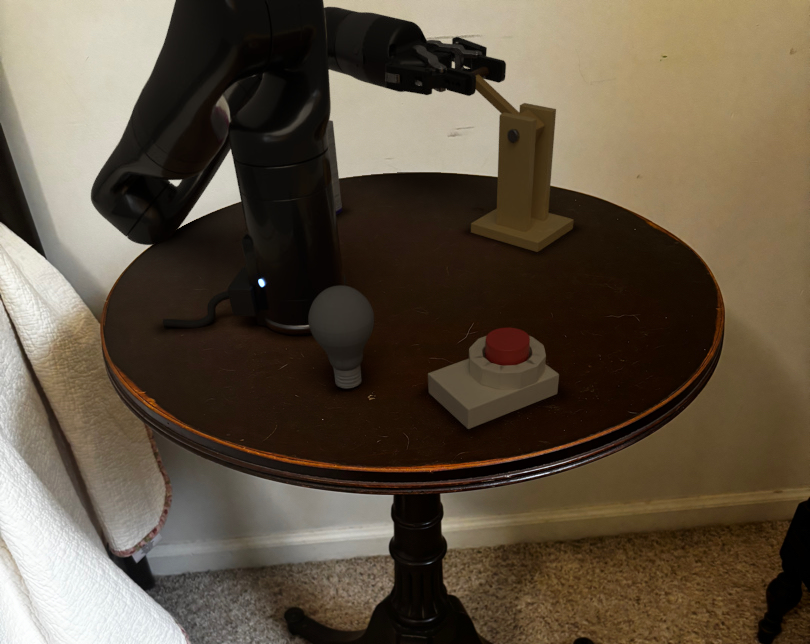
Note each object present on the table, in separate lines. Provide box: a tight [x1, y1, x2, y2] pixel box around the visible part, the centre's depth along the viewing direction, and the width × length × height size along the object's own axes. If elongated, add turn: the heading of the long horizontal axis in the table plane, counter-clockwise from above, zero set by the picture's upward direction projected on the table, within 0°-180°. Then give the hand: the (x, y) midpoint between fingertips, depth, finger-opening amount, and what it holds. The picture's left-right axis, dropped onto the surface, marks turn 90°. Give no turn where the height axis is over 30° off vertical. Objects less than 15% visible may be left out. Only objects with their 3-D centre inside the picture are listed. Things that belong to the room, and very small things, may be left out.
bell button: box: [485, 327, 530, 366], centre depth 73 cm, size 4×4×2 cm
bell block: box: [427, 335, 560, 430], centre depth 74 cm, size 10×7×4 cm
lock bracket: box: [470, 102, 575, 253], centre depth 96 cm, size 10×8×14 cm
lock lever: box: [471, 66, 545, 143], centre depth 93 cm, size 11×5×2 cm, turn 50°
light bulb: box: [308, 285, 375, 389], centre depth 74 cm, size 6×6×10 cm
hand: (488, 78), depth 92 cm, fingers closed on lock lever, 5 cm apart
